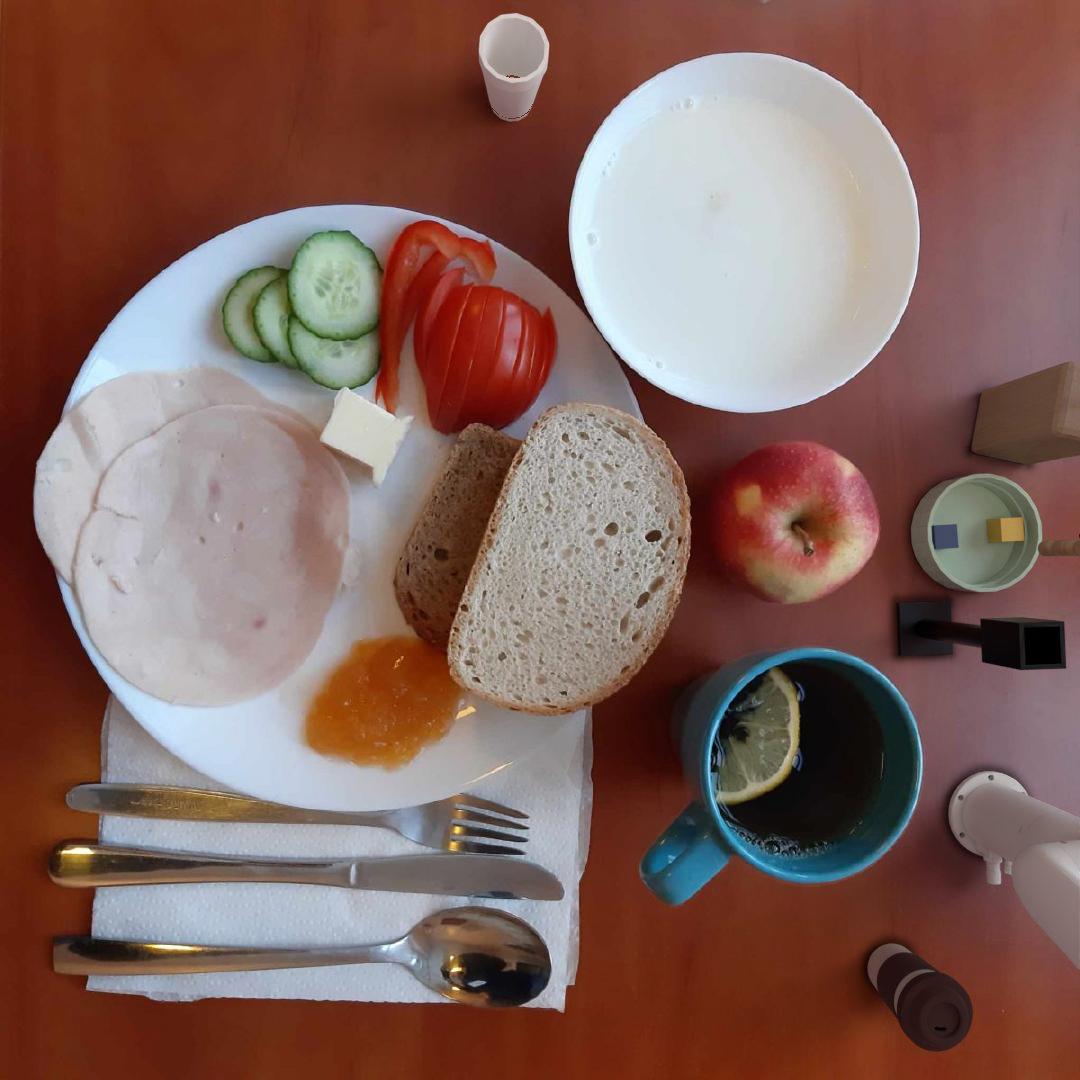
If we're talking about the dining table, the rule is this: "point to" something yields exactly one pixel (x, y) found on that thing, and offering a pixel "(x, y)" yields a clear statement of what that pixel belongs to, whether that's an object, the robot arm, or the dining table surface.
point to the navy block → (945, 536)
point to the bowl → (976, 533)
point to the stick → (1059, 548)
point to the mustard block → (1005, 529)
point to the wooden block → (1031, 417)
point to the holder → (981, 636)
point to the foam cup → (513, 63)
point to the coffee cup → (921, 998)
